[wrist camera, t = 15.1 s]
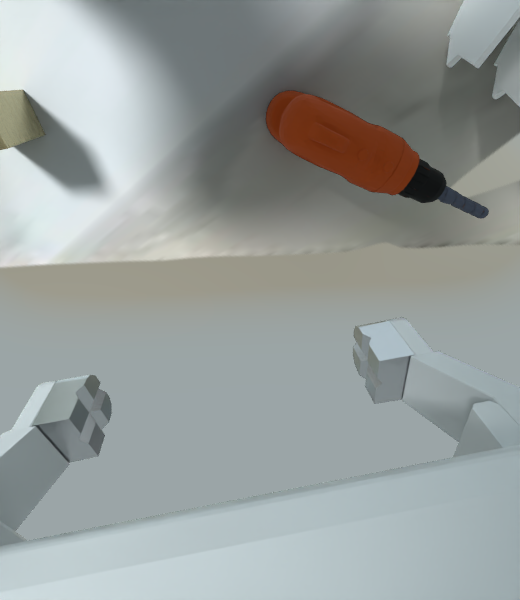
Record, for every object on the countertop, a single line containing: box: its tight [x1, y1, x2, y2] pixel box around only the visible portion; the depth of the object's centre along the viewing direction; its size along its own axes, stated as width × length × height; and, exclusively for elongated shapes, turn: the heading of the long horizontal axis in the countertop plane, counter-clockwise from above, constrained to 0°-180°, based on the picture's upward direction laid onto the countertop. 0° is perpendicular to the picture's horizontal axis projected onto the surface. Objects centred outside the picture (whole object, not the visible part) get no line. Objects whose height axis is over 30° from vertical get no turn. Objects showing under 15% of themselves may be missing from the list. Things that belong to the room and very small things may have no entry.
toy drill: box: [266, 91, 489, 218], centre depth 28 cm, size 5×19×15 cm, turn 67°
